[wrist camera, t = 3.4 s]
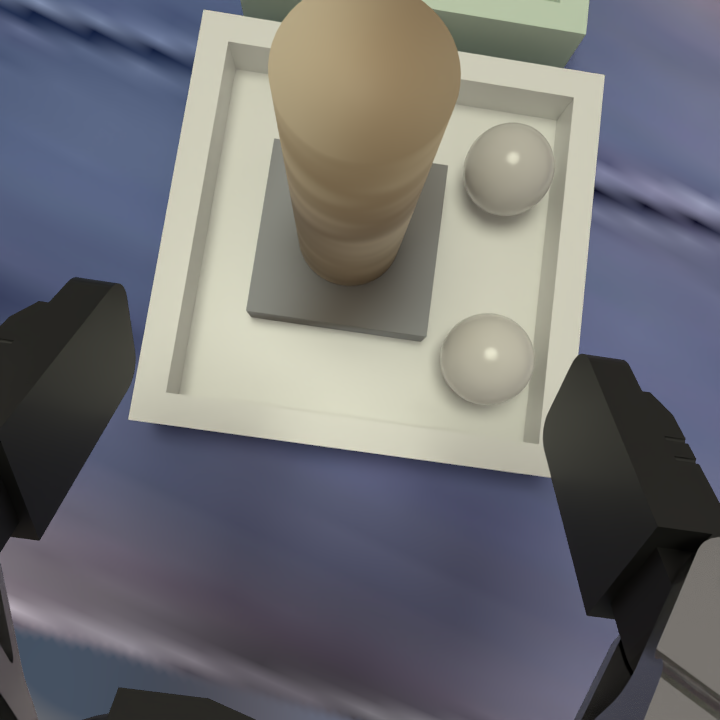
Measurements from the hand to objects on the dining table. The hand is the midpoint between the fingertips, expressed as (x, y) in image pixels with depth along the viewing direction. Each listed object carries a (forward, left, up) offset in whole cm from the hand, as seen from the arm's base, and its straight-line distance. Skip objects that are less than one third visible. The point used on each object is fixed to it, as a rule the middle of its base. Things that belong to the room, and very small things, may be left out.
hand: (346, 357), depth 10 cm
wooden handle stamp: (0, +5, -9) cm, 11 cm away
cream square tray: (+1, +5, -10) cm, 11 cm away
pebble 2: (+5, +1, -8) cm, 9 cm away
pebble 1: (+5, +8, -8) cm, 12 cm away
